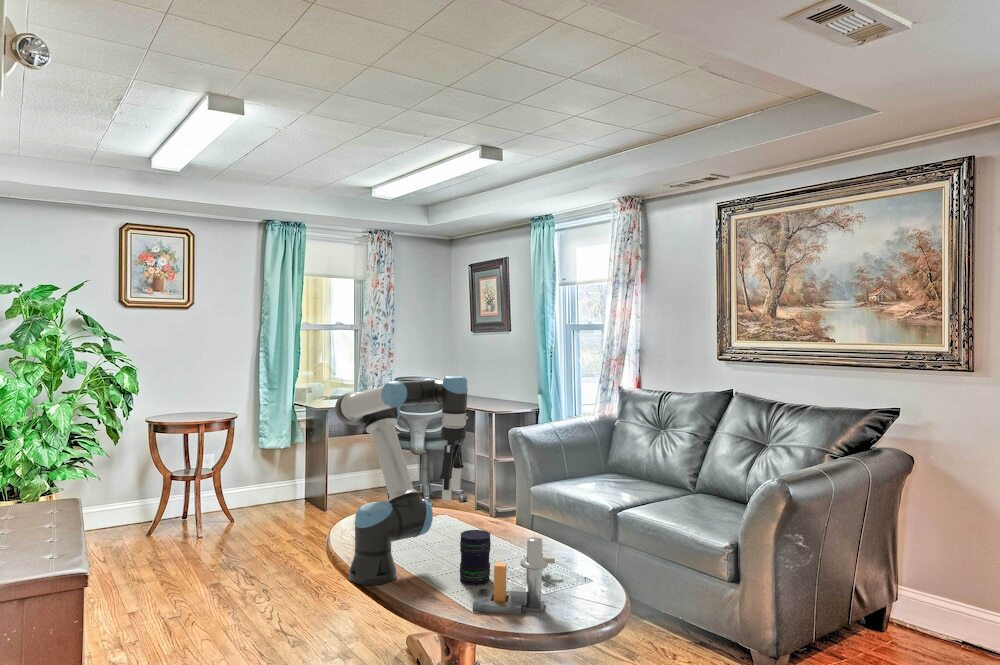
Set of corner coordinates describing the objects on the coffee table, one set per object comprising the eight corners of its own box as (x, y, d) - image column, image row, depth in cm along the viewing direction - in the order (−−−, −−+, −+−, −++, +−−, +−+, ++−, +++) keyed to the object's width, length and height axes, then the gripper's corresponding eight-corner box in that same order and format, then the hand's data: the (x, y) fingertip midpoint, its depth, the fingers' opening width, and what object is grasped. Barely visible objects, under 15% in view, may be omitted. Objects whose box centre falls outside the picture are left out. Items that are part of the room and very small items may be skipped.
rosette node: (472, 611, 201) (473, 542, 201) (480, 595, 213) (481, 530, 213) (545, 617, 198) (546, 546, 198) (548, 600, 210) (550, 534, 210)
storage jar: (496, 580, 226) (497, 534, 226) (475, 588, 219) (475, 541, 218) (474, 572, 233) (475, 527, 232) (453, 580, 225) (453, 534, 225)
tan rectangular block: (493, 606, 205) (494, 565, 205) (495, 602, 208) (496, 562, 208) (504, 607, 204) (505, 566, 204) (505, 603, 207) (506, 563, 207)
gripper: (457, 433, 203) (454, 506, 204) (473, 420, 228) (470, 485, 228) (432, 432, 204) (429, 504, 205) (450, 419, 229) (448, 483, 229)
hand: (451, 494), depth 217 cm, fingers open, 13 cm apart
